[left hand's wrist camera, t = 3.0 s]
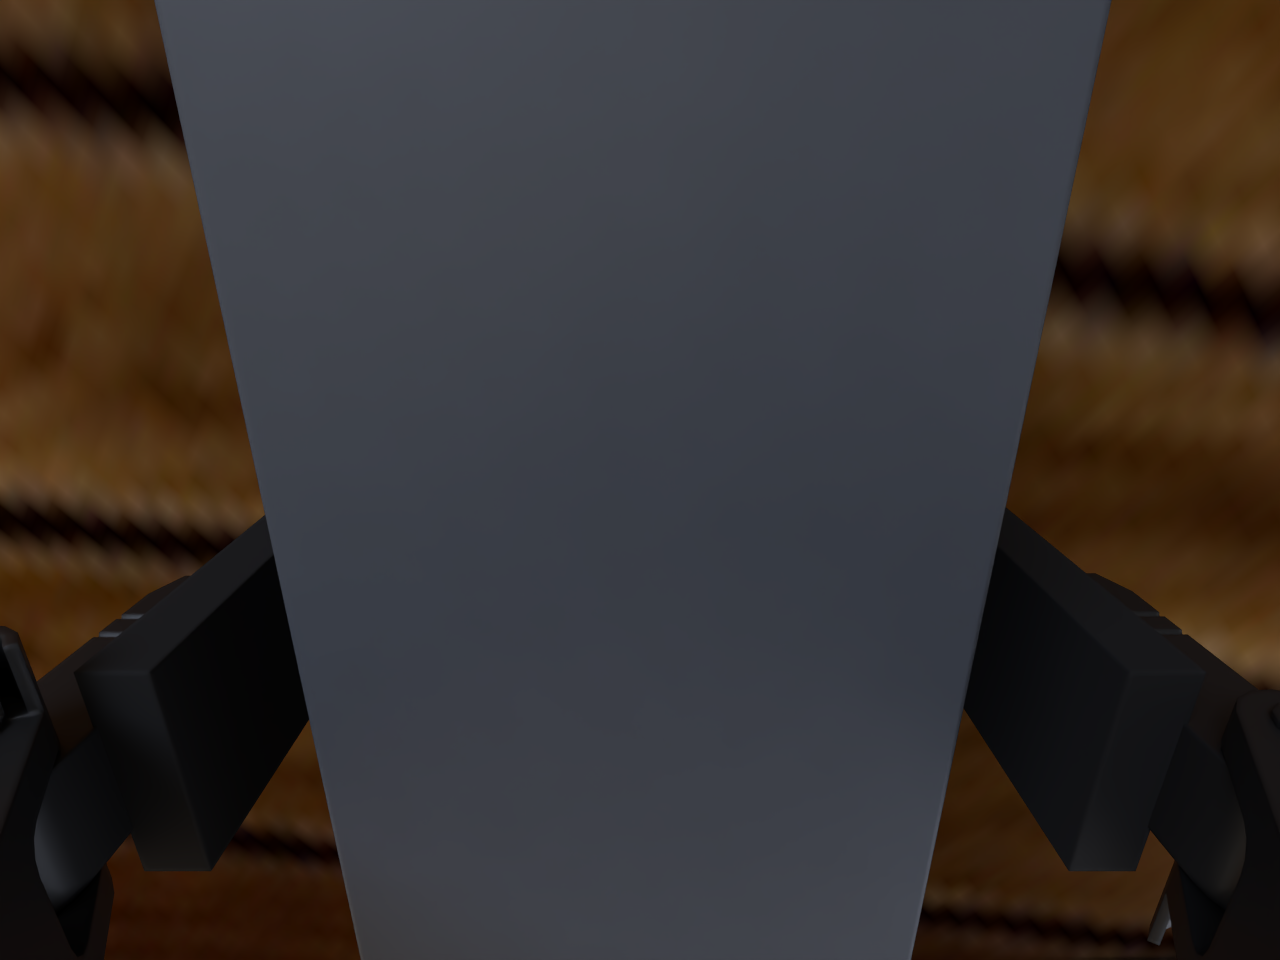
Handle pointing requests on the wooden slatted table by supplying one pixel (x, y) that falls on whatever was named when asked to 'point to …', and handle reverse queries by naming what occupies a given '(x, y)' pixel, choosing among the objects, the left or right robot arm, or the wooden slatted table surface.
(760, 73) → the bar
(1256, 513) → the wooden slatted table surface
